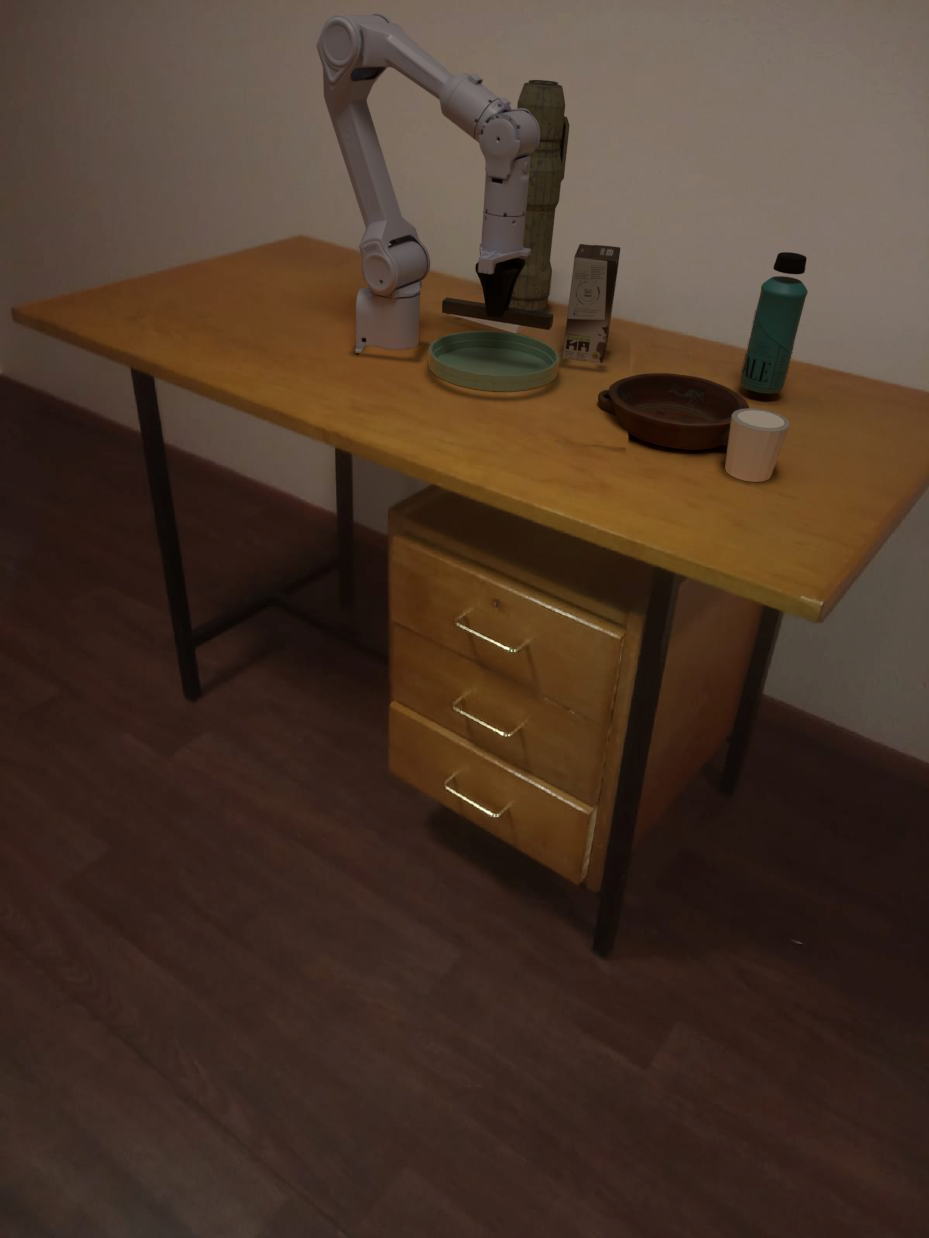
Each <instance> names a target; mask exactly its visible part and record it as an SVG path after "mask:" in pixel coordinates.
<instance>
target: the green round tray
mask: <svg viewBox="0 0 929 1238" xmlns="http://www.w3.org/2000/svg"><path fill="white" fill-rule="evenodd" d="M427 354H428V355H427V364H428V369H429V370H430V372H432V374H433V375H434V376H435V377H437V378H439V379H441V380H443V381H445V382H447V383H449V384H452V385H455V386H458V387H462V388H467V389H472V390H478V391H487V392H501V393H502V392H506V393H513V392H523V391H528V390H535V389H538V388H542V387H544V386H546V385H548V384H551V383H552V382H553V381H554V380H556V378H557V376H558V371H559V363H560V355H559V352H558V351H557V349H555V348H554V347H552V346H551V345H550V344H548V343H547V342H543V341H542V340H540V339H537V338H533V337H530V336H527V335H523V334H517V333H513V332H507V331H506V332H505V331H496V330H473V331H472V330H470V331H461V332H455V333H450V334H446V335H443V336H441V337H438V338H436V339H435V340H433V341H432V342H431V343H430V344H429V347H428V352H427Z"/></svg>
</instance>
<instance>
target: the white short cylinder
mask: <svg viewBox="0 0 929 1238" xmlns="http://www.w3.org/2000/svg"><path fill="white" fill-rule="evenodd" d="M790 426H791V423H790V421H789V419H788V418H786V417H785V416H784V415H782V414H780V413H777V412H775V411H772V410H768V409H762V408H752V407H751V408H750V407H749V408H748V409H740V410H737V411H735V412H734V413H733V414H732V417H731V425H730V432H729V440H728V446H727V448H726V457H725V463H724V464H725V465H724V469H725V473H727V474H728V475H729V476H731V477H732V478H735V479H737V480H741V481H745V482H751V483H758V482H760V483H761V482H766V481H768V480H770V478H771V477H772V475H773V473H774V470H775V467H776V464H777V461H778V458H779V456H780V453H781V451H782V448H783V445H784V442H785V440H786V437H787V434H788V432H789V429H790Z"/></svg>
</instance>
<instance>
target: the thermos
mask: <svg viewBox="0 0 929 1238" xmlns="http://www.w3.org/2000/svg"><path fill="white" fill-rule="evenodd" d="M518 96H519V97H518V99H517V106H516V109H518V108H523V109H527V110H529V112H530V113H531V115H533V117H534V118H535V119H536V121H537V123H538V125H539V128H540V141H539V144H538V147H537V149H536V150H535V152H534V153H533V154H532V155H530V156H531V159H530V171H529V183H528V195H527V206H526V217H525V229H524V240H523V246H524V248H529V249H531V255H529V256H528V257H523V256H520V257H517V258H521V259H524V260H525V266H524V267H523V269H522V271H521V272H520V274H519V276H518V279H517V281H516V284H515V287H514V290H513V293H512V297H511V301H510V304H509V307H511V308H518V309H524V310H530V311H537V312H543V313H546V311H548V305H549V304H548V301H549V296H550V294H551V287H552V286H551V285H552V277H553V267H552V264H551V256H552V255H551V254H552V247H553V245H552V244H553V238H554V237H553V235H554V228H555V217H556V216H555V215H556V209H557V207H558V204H559V202H560V197H561V196H560V195H561V186H562V182H563V180H564V179H565V173H566V164H567V163H566V162H567V153H568V146H569V145H568V143H569V133H570V122H569V118H568V117H567V116H566V115H565V112H566V101H565V95H564V89H563V85H561V84H559V82H557V81H554V80H545V79H530V80H528V82H524V83H523V86H522V88H521V91H520V93H519V95H518ZM528 157H529V156H528Z"/></svg>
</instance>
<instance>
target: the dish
mask: <svg viewBox="0 0 929 1238" xmlns="http://www.w3.org/2000/svg"><path fill="white" fill-rule="evenodd" d="M597 405H598V407H599V408H600V409H602V410H603V411H606V412H608V413H610V414H612V415H614V416H615V417H616V420H617V423H618V424H619V426H621V428H623V429H624V430H625V431H627V432H628V434H630V435H631V436H633V437H634V438H636V439H639V440H642V441H643V442H647V443H650V444H653V445H657V446H661V447H666V448H670V449H671V448H672V449H677V450H684V451H685V450H686V451H687V450H691V451H698V450H700V451H701V450H709V449H714V448H718V447H720V446H725V447H728V440H729V432H730V425H731V417H732V414H733V413H734V412H735V411H737V410H740V409H748V408H750V406H749V403H748V402H747V400H746V399H744V398H743V396H742V395H741V394H739V393H738V392H737V391H734V390H732V389H731V388H729V387H727V386H726V385H722V384H720V383H717V382H715V381H712V380H709V379H706V378H703V377H699V376H694V375H686V374H680V373H678V374H677V373H667V372H651V373H650V372H649V373H640V374H636V375H630V376H627V377H624V378H621V379H619V380H616V381H615V382H614V383H612V384H611V385H609V388H608V389H604V390H601V391H600V392H599V393H598V394H597Z"/></svg>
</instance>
